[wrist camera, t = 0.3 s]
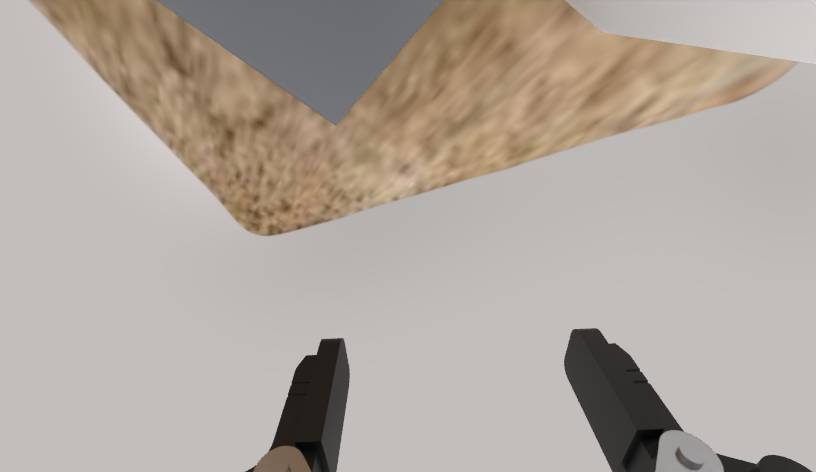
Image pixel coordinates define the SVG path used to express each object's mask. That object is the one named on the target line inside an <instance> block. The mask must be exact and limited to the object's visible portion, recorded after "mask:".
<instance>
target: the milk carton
mask: <svg viewBox="0 0 816 472" xmlns="http://www.w3.org/2000/svg"><path fill="white" fill-rule="evenodd" d="M565 1H566V2H567V3H568V4H570V5H571V6H572V7H573V8H574V9H575V10H576V11H578V12H579V13H580V14H581V15H582V16H583V17H584V18H586V19H587V20H588V21H589V22H590V23H591V24H592V25H594V26H595V27H596V28H597V29H598V30H599V31H600V32H603V33H610V34H616V35H623V36H630V37H637V38H643V39H650V40H657V41H664V42H670V43H677V44H684V45H691V46H698V47H704V48H711V49H718V50H725V51H731V52H738V53H745V54H752V55H758V56H765V57H772V58H779V59H786V60H792V61H799V62H806V63H813V64H816V0H565Z"/></svg>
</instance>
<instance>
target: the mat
mask: <svg viewBox="0 0 816 472" xmlns="http://www.w3.org/2000/svg"><path fill="white" fill-rule="evenodd" d="M157 1H158V2H160V3H161V4H163V5H164V6H165V7H167V8H168V9H170V10H171V11H173V12H174V13H175V14H177V15H178V16H180V17H181V18H183V19H184V20H185V21H187V22H188V23H190V24H191V25H193V26H194V27H195V28H197V29H198V30H200V31H201V32H203V33H204V34H205V35H207V36H208V37H210V38H211V39H213V40H214V41H215V42H217V43H218V44H220V45H221V46H223V47H224V48H225V49H227V50H228V51H230V52H231V53H233V54H234V55H236V56H237V57H238V58H240V59H241V60H243V61H244V62H246V63H247V64H248V65H250V66H251V67H253V68H254V69H256V70H257V71H258V72H260V73H261V74H263V75H264V76H266V77H267V78H268V79H270V80H271V81H273V82H274V83H276V84H277V85H278V86H280V87H281V88H283V89H284V90H286V91H287V92H288V93H290V94H291V95H293V96H294V97H296V98H297V99H298V100H300V101H301V102H303V103H304V104H306V105H307V106H308V107H310V108H311V109H313V110H314V111H316V112H317V113H318V114H320V115H321V116H323V117H324V118H326V119H327V120H328V121H330V122H331V123H333V124H334V125H337V124H338V123H339V122H340V120H341V119H342V118H343V117H344V116H345V115H346V113H347V112H348V111H349V110H350V109H351V108H352V106H353V105H354V104H355V103H356V102H357V101H358V99H359V98H360V97H361V96H362V95H363V94H364V92H365V91H366V90H367V89H368V88H369V86H370V85H371V84H372V83H373V82H374V81H375V79H376V78H377V77H378V76H379V75H380V74H381V72H382V71H383V70H384V69H385V68H386V67H387V65H388V64H389V63H390V62H391V61H392V60H393V58H394V57H395V56H396V55H397V54H398V53H399V51H400V50H401V49H402V48H403V47H404V46H405V44H406V43H407V42H408V41H409V40H410V39H411V37H412V36H413V35H414V34H415V33H416V32H417V30H418V29H419V28H420V27H421V26H422V25H423V23H424V22H425V21H426V20H427V19H428V18H429V16H430V15H431V14H432V13H433V12H434V11H435V9H436V8H437V7H438V6H439V5H440V4H441V2H442V1H443V0H157Z"/></svg>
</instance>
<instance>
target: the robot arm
mask: <svg viewBox="0 0 816 472" xmlns="http://www.w3.org/2000/svg"><path fill="white" fill-rule="evenodd" d="M564 366H565V371H566V375H567V378H568V380H569V382H570V384H571V386H572V388H573V390H574V392H575V394H576V396H577V399H578V401H579V403H580V405H581V407H582V409H583V411H584V413H585V415H586V417H587V419H588V421H589V424H590V426H591V428H592V430H593V432H594V434H595V436H596V438H597V440H598V442H599V444H600V447H601V449H602V451H603V453H604V455H605V457H606V459H607V461H608V463H609V465H610V467H611V469H612V472H812V471H810V470H809V469H807V468H806V467H804V466H803V465H801V464H799V463H797V462H795V461H793V460H791V459H788V458H785V457H781V456H777V455H768V456H765V457H763V458H762V459H761V460H760V461H759V462H758V463H757V464H754V463H750V462H746V461H742V460H738V459H734V458H731V457H726V456H723V455H720V454H717V453H715V452H714V451H713V450H712V449H711V448H710V447H709V446H708V445H707V444H706V443H704V442H703V441H702V440H700V439H699V438H697V437H695V436H693V435H691V434H689V433H686V432H684V431H683V430H682V428H681V427H680V426H679V424H678V423H677V422H676V420H675V419H674V417H673V416H672V414H671V413H670V412H669V410H668V409H667V407H666V406H665V404H664V403H663V402H662V400H661V399H660V397H659V396H658V395H657V393H656V392H655V391H654V389H653V388H652V386H651V385H650V384H648V380H647V379H646V377H645V376H644V375H643V373H642V372H640V369H639V368H638V366H637V365H636V363H635V362H634V360H633V359H632V358H631V356H630V355H629V354H628V353H626V352H625V351H624V350H623V349H622V348H620V347H619V346H618V345H616V344H615V343H613V344H608V342H607V341H606V339H605V338H604V336H603V335H602V333H601V332H600V331H599V330H598V329H595V328H594V329H574V330H573V331H572V333H571V336H570V340H569V344H568V348H567V351H566V355H565V359H564ZM349 374H350V373H349V364H348V359H347V354H346V348H345V343H344V339H343V338H338V339H322V340H321V342H320V345H319V349H318V352H317V355H308V356H305V358H304V359H303V360H302V362H301V363H300V364H299V365H298V367H297V368H296V370H295V374H294V377H293V380H292V385H291V387H290V390H289V393H288V397H287V400H286V403H285V406H284V409H283V412H282V415H281V419H280V422H279V425H278V428H277V432H276V435H275V438H274V441H273V444H272V446H271V448H270V450H269V452H268V453H267V454H266V455H265V456H264V457H262V458H261V460H260V461H259V462H258V464H257V465H256V466H255V467H253V468H251V469H250V470H248V471H246V472H336V470H337V463H338V456H339V449H340V443H341V436H342V429H343V422H344V416H345V408H346V402H347V395H348V388H349V378H350V377H349Z"/></svg>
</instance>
